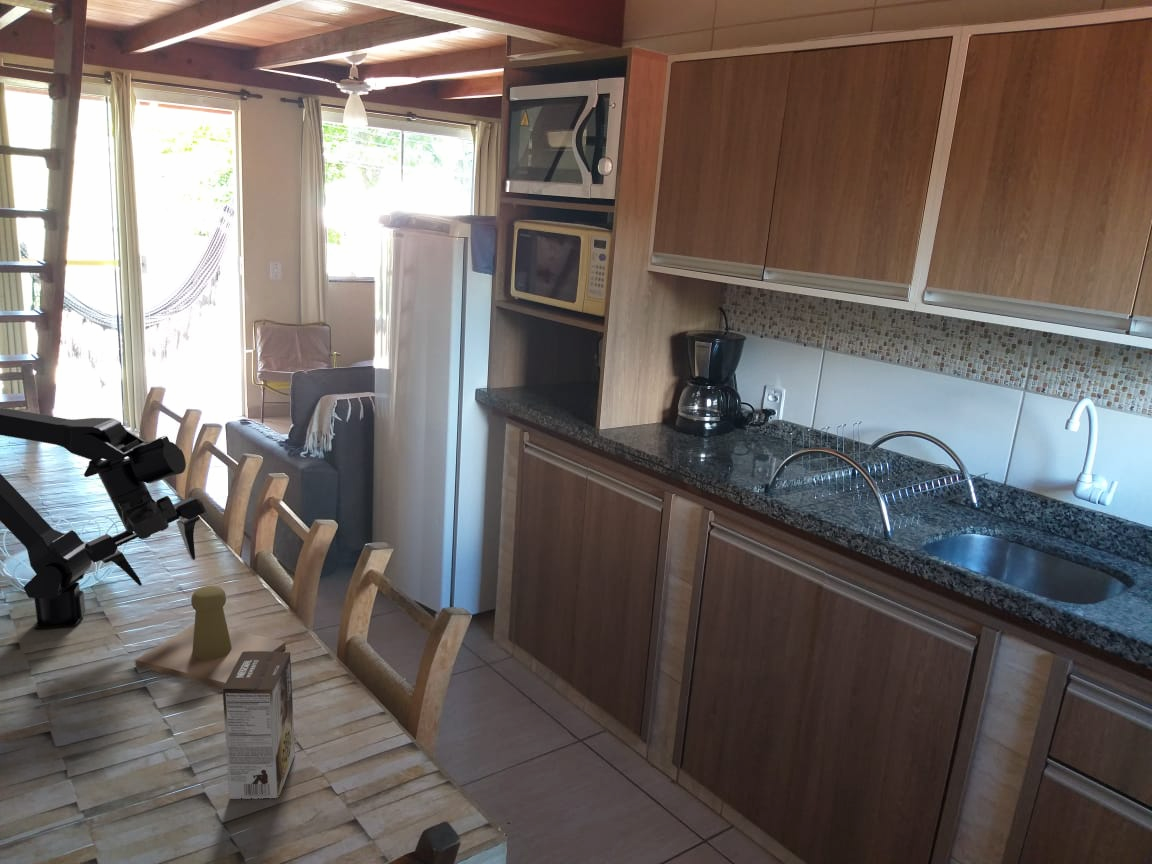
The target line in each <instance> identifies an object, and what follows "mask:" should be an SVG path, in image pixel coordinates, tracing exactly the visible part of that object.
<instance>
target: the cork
mask: <svg viewBox="0 0 1152 864" xmlns="http://www.w3.org/2000/svg"><path fill="white" fill-rule="evenodd" d="M190 601H191V602H190V603H191V606H192V609H193V610H195V616H194V617H195V618H194V624H195V626H194V638H193V650H192V655H193V656H194V657H195V658H197V659H201V660H212V659H217V658H220V657H223V656H225V655H227V654H228V653H229V652H230V651H231V649H232V646H231V641H230V637H229V632H228V629H229V628H228V624H227V619H226V615H225V611H224V606H225V604H226V602H227V593H226V591H225V590H224V589H223V588H222V587H220V586H217V585H207V586H202V587H200V588H198V589H196V590H194V592H193V593H192V595H191V599H190Z"/></svg>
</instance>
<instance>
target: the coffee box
mask: <svg viewBox="0 0 1152 864" xmlns="http://www.w3.org/2000/svg"><path fill="white" fill-rule="evenodd" d="M291 663H292V662H291V652H290V651H281V652H270V651H245V652H242V654H241V655H240V657H239V659H238V661H237V663H236V665H235V666H234V668H233V670H232V672H231V674H230V676H229V677H228V679H227V681H226V683H225V685H224V687H223V689H221V690H222V697H223V698H222V700H223V716H224V717H223V718H224V731H225V732H224V733H225V746H226V747H225V749H226V761H227V762H226V763H227V765H226V766H227V781H228V782H227V783H228V796H229V798H228V799H230V800H256V799H257V800H262V799H263V798H270V799H269V800H272V799H271V798H277V799H279V798H280V796H279V795H281V793H282V790H283V788H284V785H285V782H286V779H287V778H288V777H287V776H288V774H289V771H290V769H291V766H292V763H293V761H294V757H295V756H296V748H295V746H296V745H295V729H294V707H293V706H294V704H293V703H294V702H293V681H292V680H293V679H292V665H291ZM278 797H279V798H278ZM241 798H242V799H241ZM251 798H252V799H251ZM258 798H259V799H258ZM261 798H262V799H261ZM263 800H264V799H263Z"/></svg>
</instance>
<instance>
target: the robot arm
mask: <svg viewBox="0 0 1152 864" xmlns="http://www.w3.org/2000/svg"><path fill="white" fill-rule="evenodd" d="M0 436H4V437H10V438H14V439H22V440H27V441H31V442H32V441H33V442H39V443H45V444H49V445H56V446H58V447H62V448H63V449H65V450H67V451H68V452H69V453H70V454H73V455H74V456H75V455H76V456H78V457H81V458H83V459H87V460H89V461H88V466H87V468H86V469H85V472H84V473H83V477H85V478H89V477H92V476H94V475H98V477H99V479H100V480H101V483H102V485H103V487H104V489H105V491H106V493H107V495H108V497H109V499H110V501H111V503H112V505H113V507H114V509H115V511H116V513H117V515H118V517H119V519H120V521H121V523H122V525H123V527H124V529H125V531H123V532H120V533H118V534H116V535H113V536H111V535H109V534H108V533H105V534H103V535H101V536H99V537H97V538H94V539H92V540H90V541H88V542H84V540H82V539H81V538H80V536H79V535H78V533H77V532H76V531H74V530H72V529H71V530H69V531H66V532H65V533H64V532H61V531H58V530H56V529H54V528H53V527H52V526H51V525H50V524H49V523H47V521H46V520H45V519H44V518H43V517H42V515H40V513H38V512H37V511H36V509H35V508H34V507H33V506H32V505H31V504H30V503H29V502H28V501H27V500H26V499H25V498H24V496H23V495H21V493H19V491H18V490H17V489H16V488H15V487H14V486H13V485H12V484H11V483H10V482H9V480H7V479H6V478H5V477H4V476H3V475H2V474H1V473H0V522H1V524H2V525H4V527H5V528H6V529H7V530H8V531H9V532H10V533H11V534H12V535H13V536H14V537H15V538H16V539H17V540H18V541H19V542H20V543H21V545H22V546H23V547H25V549H26V551H27V556H28V561H29V564H30V565H29V566H30V567H31V569H32V570H33V572H34V573H35V576H33V577H32V578H31V579H30V580H29V581H28V582H26V584H25V585H23V590H24V591H25V593H26V596H27V597H28V598H29V599H34V606H35V607H34V608H35V615H36V622H35V624H34V626H33V630H45V629H57V628H71V627H76V626H77V625H78V624H79V622H80V621H81V619H82V618H83V616H84V615H85V612H86V605H85V603H86V602H85V593H84V591H83V590H81V589H80V582H79V581H80V580H83V579H84V577H85V574H86V572H87V571H88V570H89V569H90V568H91V566H92V562H93V563H97V562H103V563H104V564H108V563H110V562H112V563H114V564H115V566H118V567H119V568H120V569H121V570H122V571H123V572H124V573H125V574H126V575H127V576H128V577H130V578H131V579H132V581H134V582H135V583H136V584H137V585H138V586H140V587H142V586H143V583H142V582H141V579H140V577H139V575H138V574H137V572H135V570H134V568H133V567H132V566H131V564H130V563H129V562H128V561H129V560H127V558H126V557H125V555H124V553H123V552H121V551H120V550H119V548H118V547H119V546H122V545H124V544H127V543H128V542H131V541H133V540H136V539H140V540H145V539H148V538H150V537H151V536H152V535H155V534H157V533H158V532H160V531H161V532H163V531H165V530H166V529H168V528H169V526H170V525H169V524H170V523H173V522H175V521H176V522H175V523H176V525H177V528H178V529H179V533H180V535H181V538H182V541H183V543H184V546H185V548H186V551H187V553H188V555H189V557H190V559H191V560H192V561H194V560H196V553H195V552H196V551H195V539H194V538H195V537H194V535H195V526H196V523H197V522H198V521H200V520H201V516H200V515H203V514H204V513H206V512H207V510H206V508H205V506H204V503H203V502H202V501H201V499H198V498H195V497H191V496H189V497H187V498H184V499H182V500H180V501H178V502H176V503H174V504H173V502H172V500H171V498H170V496H169V495H165V496H162V497H161V498H158V499H156V500H154V498H153V497H152V495H151V493H150V491H149V489H148V486H147V485H146V484H148V485H149V484H154V483H157V482H159V481H163V480H166V479H169V478H172V477H174V476H175V477H176V476H178V475H181V474H183V473H185V471H186V467H187V464H186V463H187V462H186V457H185V455H184V452H183V450H182V449H180V447H179V446H178V445H177V444H176V443H174V442H172V441H170V439H169V437H168V436H167V435H163V436H161V437H158V438H156V439H155V440H152V441H149V442H147V441H146V440H145V439H143V438H141V437H139V436H138V435H136V434H135V433H133V432H131V431H129V430H128V429H126V428H125V426H124V425H123V424H122V422H121V421H120V420H118V419H115V418H112V417H88V418H79V419H77V418H76V419H73V418H72V419H71V418H63V417H59V416H51V415H46V414H40V413H33V412H30V411H29V412H28V411H23V410H17V409H11V408H6V407H3V406H1V405H0Z"/></svg>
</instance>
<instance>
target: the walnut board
mask: <svg viewBox="0 0 1152 864" xmlns="http://www.w3.org/2000/svg"><path fill="white" fill-rule="evenodd" d="M194 626H195V623H194V624H192V625H190V626H189V627H186V628H185V629H184V630H182V631H181V632H179V633H177V634H176V635H174V636H172V637H170V638H169V639H167V640H166V641H165V642H163V643H160V644H159V645H157V646H156V647H154V648H153V649H150V650H149V651H148V652H146V653H144V654H142V655H141V656H139V657H138V658H136V659H135V667H137V668H141V669H145V670H149V671H152V672H157V673H159V674H163V675H168V676H171V677H176V678H179V679H184V680H186V681H191V682H194V683H198V684H202V685H206V686H210V687H214V688H217V689H221V690H222V689H223V687H224V685H225V683H226V681H227V679H228V677H229V676H230V674H231V672H232V670H233V668H234V666H235V665H236V663H237V661H238V659H239V657H240V655H241V654H242V652H245V651H270V652H284V650H285V649H287V648H286V647H287V646H286V645H287V644H286V643H287V642H286V641H284V640H279V639H274V638H270V637H266V636H261V635H257V634H253V633H249V632H245V631H241V630H237V629H231V628H228V632H229V637H230V641H231V646H232V649H231V651H230V652H229V653H228V654H227V655H225V656H223V657H220V658H217V659H212V660H201V659H197V658H195V657H194V656H193V655H192V650H193V638H194Z"/></svg>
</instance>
